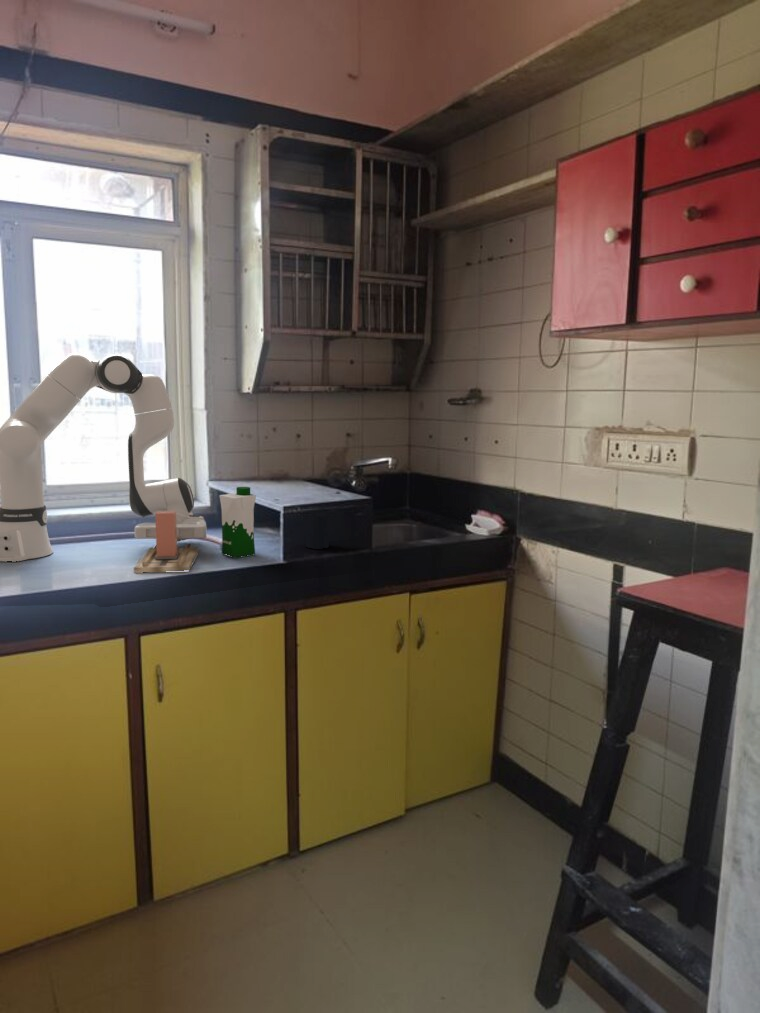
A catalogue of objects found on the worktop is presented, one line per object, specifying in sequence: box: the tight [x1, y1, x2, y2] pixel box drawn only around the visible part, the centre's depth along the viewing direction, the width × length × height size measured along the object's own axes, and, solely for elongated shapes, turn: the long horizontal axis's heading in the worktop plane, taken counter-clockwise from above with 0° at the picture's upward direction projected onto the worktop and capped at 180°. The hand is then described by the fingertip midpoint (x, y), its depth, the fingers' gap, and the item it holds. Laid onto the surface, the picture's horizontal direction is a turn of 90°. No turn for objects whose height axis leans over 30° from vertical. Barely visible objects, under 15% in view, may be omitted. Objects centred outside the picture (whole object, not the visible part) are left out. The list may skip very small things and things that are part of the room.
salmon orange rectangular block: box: [154, 511, 180, 559], centre depth 196 cm, size 6×5×13 cm
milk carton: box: [219, 486, 256, 558], centre depth 208 cm, size 9×9×20 cm
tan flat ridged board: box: [133, 543, 199, 574], centre depth 199 cm, size 14×24×3 cm, turn 8°
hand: (167, 536), depth 198 cm, fingers closed, pressing on salmon orange rectangular block
